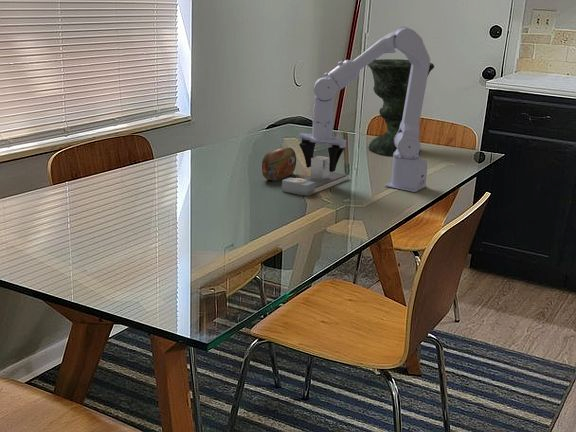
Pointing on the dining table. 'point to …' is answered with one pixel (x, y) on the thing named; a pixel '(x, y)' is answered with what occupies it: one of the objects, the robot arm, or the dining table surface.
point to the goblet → (390, 99)
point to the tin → (279, 164)
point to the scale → (311, 184)
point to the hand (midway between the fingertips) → (320, 168)
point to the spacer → (320, 168)
